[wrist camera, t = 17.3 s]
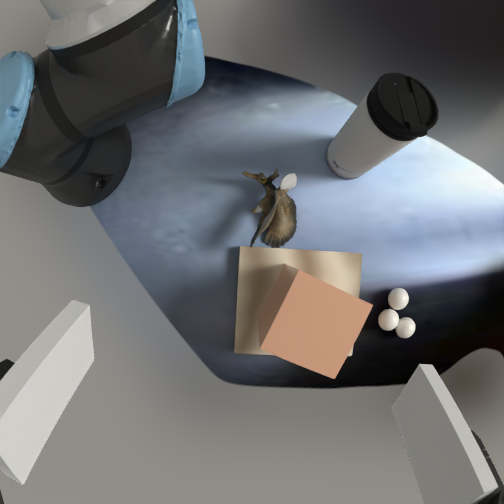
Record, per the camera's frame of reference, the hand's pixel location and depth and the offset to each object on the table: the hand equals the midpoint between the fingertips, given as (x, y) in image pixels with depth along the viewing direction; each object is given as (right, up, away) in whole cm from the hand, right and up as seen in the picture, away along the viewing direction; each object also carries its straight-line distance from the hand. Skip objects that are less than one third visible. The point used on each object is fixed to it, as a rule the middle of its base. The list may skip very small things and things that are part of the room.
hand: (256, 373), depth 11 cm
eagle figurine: (+2, +10, +31) cm, 32 cm away
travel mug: (+13, +17, +30) cm, 37 cm away
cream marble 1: (+20, -2, +30) cm, 36 cm away
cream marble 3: (+22, -6, +30) cm, 38 cm away
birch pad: (+6, -2, +30) cm, 31 cm away
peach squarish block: (+6, -2, +29) cm, 29 cm away
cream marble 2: (+19, -5, +30) cm, 36 cm away
